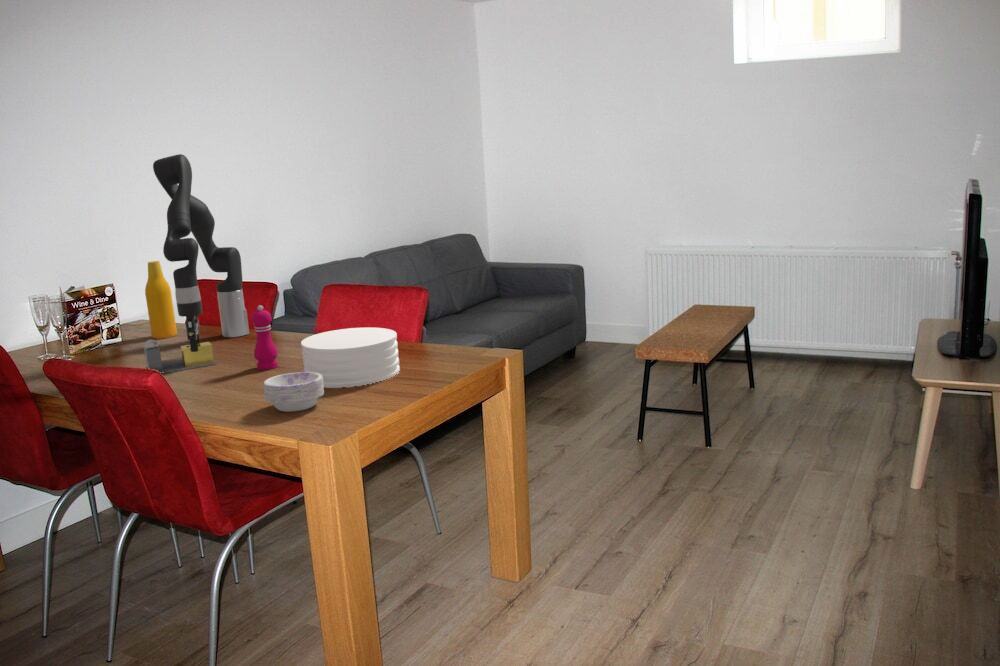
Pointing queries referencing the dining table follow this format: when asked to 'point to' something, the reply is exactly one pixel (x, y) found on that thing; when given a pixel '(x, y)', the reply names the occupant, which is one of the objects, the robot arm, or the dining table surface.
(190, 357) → the yellow block
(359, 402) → the dining table surface
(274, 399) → the paper bowls
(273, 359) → the pepper mill
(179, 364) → the grey fixture stand
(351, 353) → the plate stack
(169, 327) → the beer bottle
